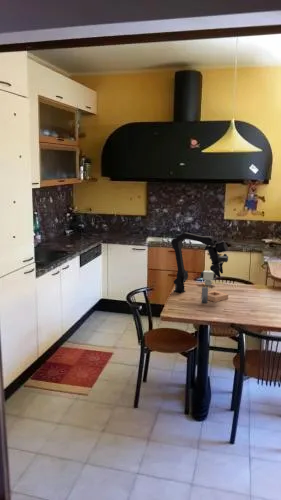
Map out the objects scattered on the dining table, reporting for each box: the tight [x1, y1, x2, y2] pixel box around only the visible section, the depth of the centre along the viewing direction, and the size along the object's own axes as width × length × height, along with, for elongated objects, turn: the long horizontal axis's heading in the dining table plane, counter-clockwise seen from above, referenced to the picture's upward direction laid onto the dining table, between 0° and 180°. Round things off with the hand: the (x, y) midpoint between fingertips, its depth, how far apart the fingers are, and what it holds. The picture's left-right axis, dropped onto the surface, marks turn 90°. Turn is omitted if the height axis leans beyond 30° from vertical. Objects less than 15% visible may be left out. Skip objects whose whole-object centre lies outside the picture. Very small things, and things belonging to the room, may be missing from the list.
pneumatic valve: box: [200, 269, 218, 286], centre depth 310 cm, size 6×12×12 cm, turn 77°
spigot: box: [201, 286, 209, 304], centre depth 268 cm, size 4×4×10 cm
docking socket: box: [200, 289, 229, 303], centre depth 278 cm, size 13×13×3 cm
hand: (221, 275), depth 277 cm, fingers open, 9 cm apart
